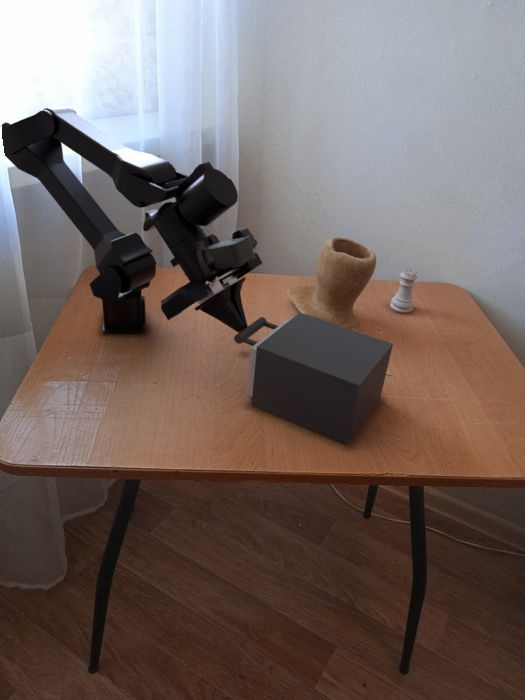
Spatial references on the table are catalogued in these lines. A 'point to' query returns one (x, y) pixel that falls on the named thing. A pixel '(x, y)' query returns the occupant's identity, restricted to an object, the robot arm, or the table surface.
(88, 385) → the table surface
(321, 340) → the cabinet
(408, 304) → the rook chess piece
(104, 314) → the robot arm
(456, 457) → the table surface
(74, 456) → the table surface
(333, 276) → the stone cup
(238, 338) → the drawer
